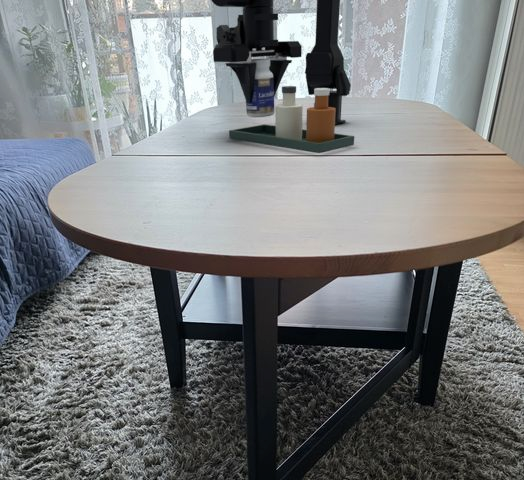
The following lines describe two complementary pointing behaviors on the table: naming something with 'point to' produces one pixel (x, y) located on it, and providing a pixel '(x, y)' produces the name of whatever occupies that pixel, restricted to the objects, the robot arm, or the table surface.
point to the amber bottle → (320, 118)
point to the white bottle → (289, 115)
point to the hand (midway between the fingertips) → (260, 101)
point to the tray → (268, 137)
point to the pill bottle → (262, 91)
